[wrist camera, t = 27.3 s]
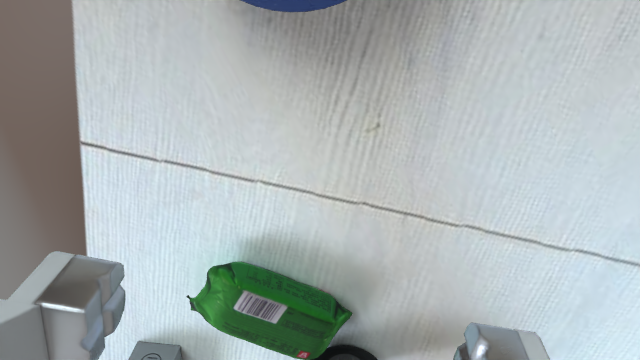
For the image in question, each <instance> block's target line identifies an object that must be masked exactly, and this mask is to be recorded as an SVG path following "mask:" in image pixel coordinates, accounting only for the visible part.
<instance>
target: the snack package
mask: <svg viewBox="0 0 640 360" xmlns="http://www.w3.org/2000/svg"><path fill="white" fill-rule="evenodd" d="M187 298H189V299H190V304H191V310H193V311H197V312H199V313H200V314H201V315H202V316H203V317H204V319H205V320H206V321H207V322H208V323H210V324H211V325H212V326H213V327H215V328H217V329H218V330H220V331H222V332H224V333H226V334H229V335H232V336H234V337H237V338H240V339H243V340H246V341H248V342H251V343H254V344H256V345H259V346H262V347H264V348H267V349H270V350H273V351H276V352H279V353H281V354H284V355H288V356H291V357H293V358H297V359H303V360H311V359H315V358H317V357H319V356H320V355H321V354H322V353H323V352H324V351H325V350H326V349H327V347H328V345H329V344H330V342H331V341H332V339H333V337H334V336H335V334H336V333H337V332H338V330H339V329H340V328H341V326H342V325H343V324H344V323H345V322H346V321H347V320H348V319H349V318H350V317H351V315H352V313H351V312H350V311H348V310H347V309H345V308H344V307H342V306H341V305H340V304H339V303H338V302H337V301H336V300H335V299H334V298H333V297H332V296H331V295H330V294H328V293H326V292H324V291H321V290H319V289H316V288H313V287H311V286H308V285H305V284H302V283H299V282H296V281H294V280H292V279H290V278H287V277H285V276H282V275H280V274H277V273H274V272H272V271H269V270H266V269H263V268H260V267H257V266H254V265H251V264H248V263H243V262H232V263H228V264H224V265H217V266H213V267H212V268H210V269H209V271H208V272H207V282H206V285H205V287H204V288H203V289H202V290H201V292H200V293H199V294H198V295H197V296H196V297H195V298H190V297H189V295H188V296H187Z"/></svg>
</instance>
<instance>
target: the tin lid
mask: <svg viewBox="0 0 640 360" xmlns="http://www.w3.org/2000/svg"><path fill="white" fill-rule="evenodd" d="M241 1H243V2H246V3H248V4H251V5H254V6H256V7H260V8H264V9H269V10H273V11H282V12H308V11H314V10H319V9H325V8H328V7H331V6H334V5H337V4H340V3H342V2H344V1H346V0H241Z"/></svg>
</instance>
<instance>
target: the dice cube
mask: <svg viewBox="0 0 640 360" xmlns="http://www.w3.org/2000/svg"><path fill="white" fill-rule="evenodd" d="M129 360H182V358H181V349H180V346H179V345H169V344H158V343H148V342H137V344H136V346H135V348H134V350H133V352H132V354H131V356H130V358H129Z"/></svg>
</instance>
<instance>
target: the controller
mask: <svg viewBox="0 0 640 360" xmlns="http://www.w3.org/2000/svg"><path fill="white" fill-rule="evenodd" d="M311 360H378V359H377V358H376V357H374V356H373V355H372V354H370V353H369V352H367V351H365V350H363V349H360V348H357V347H353V346H345V345H341V346H333V347H329V348H327V349H326V350H325V351H324V352H323V353H322V354H321V355H320V356H319V357H317V358H315V359H311Z"/></svg>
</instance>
